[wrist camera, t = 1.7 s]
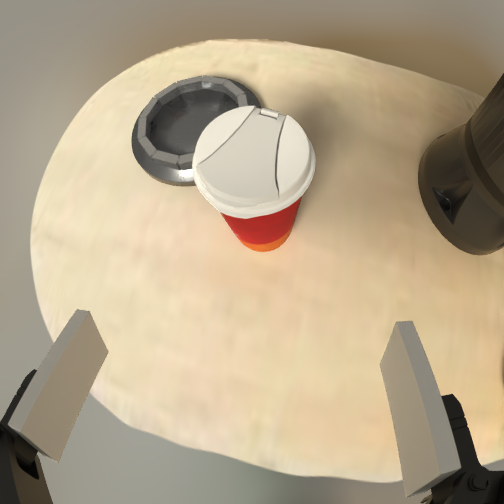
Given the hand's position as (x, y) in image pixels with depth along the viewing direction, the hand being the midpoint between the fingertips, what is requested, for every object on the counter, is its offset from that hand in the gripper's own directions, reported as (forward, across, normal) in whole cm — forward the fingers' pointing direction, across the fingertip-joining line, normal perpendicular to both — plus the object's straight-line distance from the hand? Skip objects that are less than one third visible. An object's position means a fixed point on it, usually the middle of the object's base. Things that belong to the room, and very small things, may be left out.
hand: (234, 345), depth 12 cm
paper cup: (+19, 0, -4) cm, 20 cm away
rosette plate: (+28, -8, +5) cm, 30 cm away
